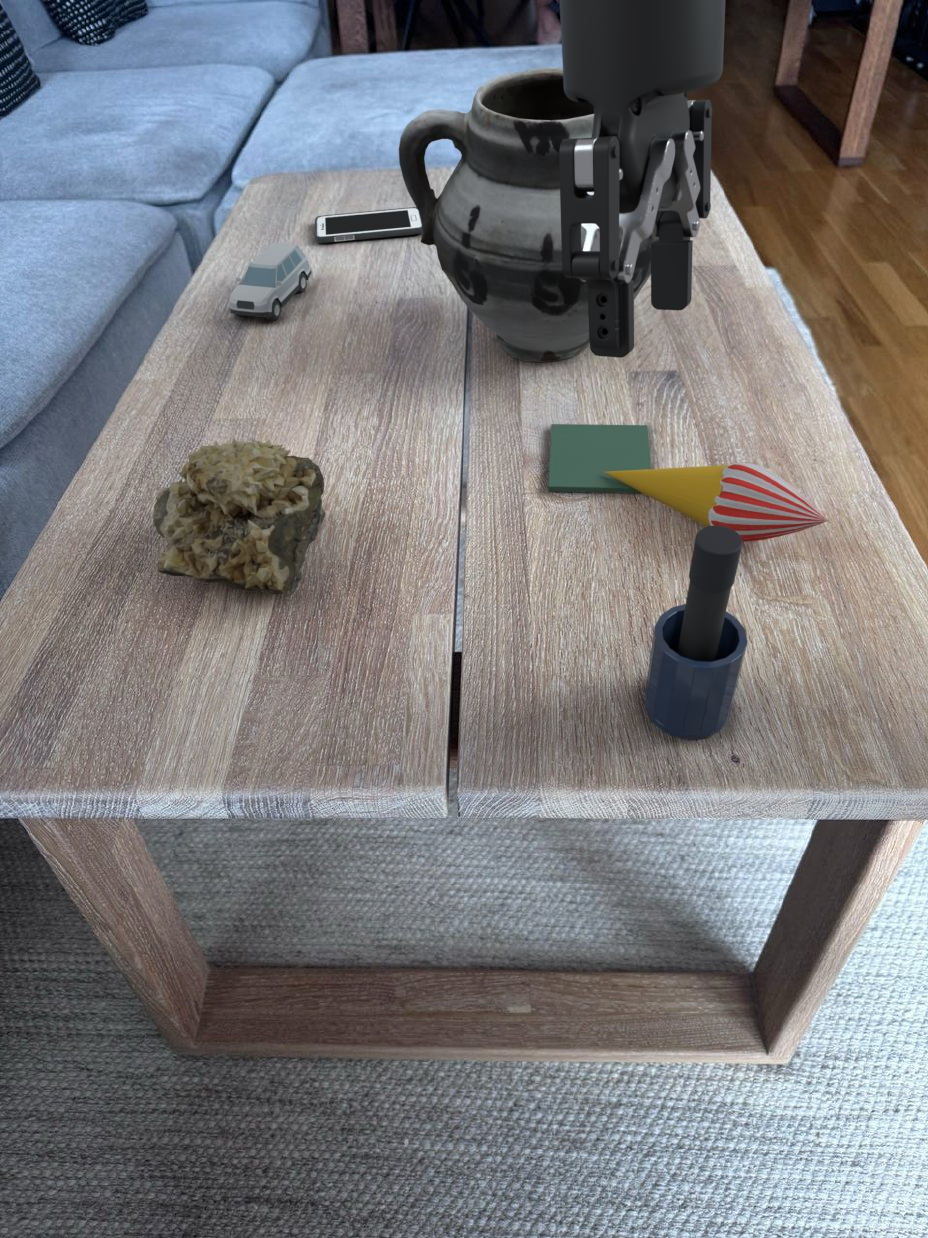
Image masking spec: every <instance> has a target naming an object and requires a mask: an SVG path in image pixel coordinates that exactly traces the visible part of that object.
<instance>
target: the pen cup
mask: <svg viewBox="0 0 928 1238" xmlns="http://www.w3.org/2000/svg"><path fill="white" fill-rule="evenodd" d="M685 605H686V603H684V604H680V605H676V606H672V607H671V608H669V609H667V610H666V611H665V612H663V613H662V614H661V615H659V617H658V618H657V621H656V623H655V625H654V628H653V635H652V641H651V649H650V656H649V663H648V670H647V677H646V683H645V684H646V685H645V691H644V696H645V697H644V709H645V712H646V715H647V717H648V718H649V720H650V722H652V723H653V724H654V726H656V728H658V729H659V730H661V732H663V733H665V734H667V735H670V736H672V737H676V738H679V739H684V740H700V739H705V738H709V737H711V736H714V735H715V734H717V733H718V732H720V731H721V730H722V729H724V727H725V725H727V722H728V720H729V717H730V713H731V710H732V707H733V705H734V700H735V695H736V691H737V687H738V684H739V679H740V674H741V671H742V667H743V663H744V659H745V655H746V652H747V647H748V643H749V642H748V636H747V631H746V628H745V627H744V626H743V624H742V623H741V622H740V620H738V618H737V617H736V616H734V615H733V614H732V613H730V612H728V611H727V610H726V614H725V618H724V623H723V628H722V632H721V637H720V642H719V646H718V651H717V655H716V660H715V661H713V662H706V661H694V660H691V659H688V658H685V657H682V656H680V655H679V654H677V652H678V646H679V640H680V634H681V629H682V623H683V617H684V611H685Z"/></svg>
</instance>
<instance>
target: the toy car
mask: <svg viewBox="0 0 928 1238" xmlns="http://www.w3.org/2000/svg"><path fill="white" fill-rule="evenodd" d="M312 273H313V272H312V267H311V265H310V263H309V260H308V257H307V255H306V254H305V253H304V252H303V250H302V249H301V248H300V247H299V245H298V244H295V243H286V242H272V243H270V244H269V245H268V246H267V247H266V248H265V249H263V250H262V251H261V253H259V254H258V255H257V256H256V257H255V258H254V259H253V260H251V262H249V265H248V267H247V269H246V272H245V274H244V276H243V279H242V280H241V277H235V280H236V282H239V283H240V284H238V285H237V286H236V287H234V288H233V290H232V291H231V293H230V294H229V312H230V313H229V314H232V315H235V316H236V317H241V318H245V317H249V316H250V317H257V318H258V317H259V318H266V319H267V320H270V321H277V320H279V319H280V318H281V317H280V316H281V315H282V308H284V306H285V305H286V304H287V303H288V302H289V301H290V300H291V299H292V298H293V297H294V296H295V295H296V294H297V293H303V292H305V291H306V289H307V286H308V281H309V279H310V277H311V274H312Z"/></svg>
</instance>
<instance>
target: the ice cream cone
mask: <svg viewBox="0 0 928 1238" xmlns="http://www.w3.org/2000/svg"><path fill="white" fill-rule="evenodd" d="M604 473H606V474H608V475H609V476H611V477H613V478H615V479H617V480H619V481H621V482H623V483H625V484H626V485H628V486H630V487H632V488H634V489H636V490H638V491H640V492H642V493H641V494H644V495H646V496H647V497H649V498H651V499H653V500H655V501H656V502H659V503H660V504H662V505H664V506H666V507H669V508H670V509H672V510H674V511H676V512H678V513H679V514H681V515H683V516H685V517H687V518H689V519H691V520H692V521H694V522H696V523H698V524H700V525H702V526H704V527H708V526H724V527H728V528H730V529H733V530H734V531H736V532H737V533H738V534H739V535H740V536H741V538H742V542H743V543H749V542H751V543H752V542H758V541H765V540H770V539H774V538H779V537H783V536H787V535H791V534H795V533H798V532H802V531H805V530H808V529H810V528H814V527H816V526H818V525H822V524H824V523H827V522H829V519H827V518H826V517H825V515H824V514H823V513H822V512H821V511H819V509H818V508H817V507H816V506H815V505H814V504H813V503H812V501H810V499H808V498H807V497H806V496H804V495H803V494H802V493H801V492H800V491H799V490H798V489H796V488H795V487H794V486H792V485H791V484H790V483H788V482H787V481H786V480H784V479H783V478H781V477H780V476H779V475H777V474H776V473H774V472H773V471H771V470H769V469H768V468H766V467H763V466H761V465H758V464H756V463H750V462H734V463H730V464H724V465H723V464H720V465H719V464H718V465H703V466H686V467H685V466H684V467H683V466H682V467H668V468H667V467H666V468H651V469H646V470H628V471H610V472H604Z"/></svg>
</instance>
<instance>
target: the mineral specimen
mask: <svg viewBox="0 0 928 1238" xmlns="http://www.w3.org/2000/svg"><path fill="white" fill-rule="evenodd" d="M286 448H287V447H286V446H284V447H283V444H272V439H271V438H269V439H268V440H266V442H263V441H262V440H258V441H257V440H255V439H254V438H251V441H244V440H236V439H235V438H233V440H232V443H231V442H227V443H222V444H221V445H220V444H219V442H218V441H217V440H215V442H214V444H212V445H211V444H209V445H200V447H199V449H198V450H195V451H192V452H189V453H188V454H187V458H188V461H187V462H186V463H185V464H184V465H183V467H182V470H181V471H180V472H178V474H179V475H180V477H181V478H183V479H184V481H182V479H179V480H178V481H174V482H172V483H171V485H170V486H169V487H164V488H162V490H161V491H159V492H158V493H157V494H156V496H155V499H156V502H155V504H154V506H153V512H152V517H153V518H152V521H153V524H154V527H155V530H156V532H157V533H158V534H159V535H160V536H161V537H162V538H163V540H165V541H166V542H167V544H168V549H167V550H166V551H163V554H162V555H161V557H160V558H158V559H156V561H157V564H156V566H157V567H156V568H157V571H158V573H160V574H164V575H169V576H171V577H184V576H185V577H189V578H195V579H196V578H197V579H199V580H202V581H205V582H208V583H225V584H228V585H230V586H231V587H232V588H234V589H235V590H237V591H242V592H243V591H244V592H247V593H251V592H252V593H253V592H262V593H264V594H269V595H273V596H275V595H280V596H281V595H282V596H285V597H286V596H287V595H292V594H293V593H295V591H296V589H297V588H298V586H299V583H300V581H301V580H302V579H303V574H302V571H301V569H302V567H303V565H304V564H305V561H306V553H307V550H308V549H309V546H310V545H311V543H313V542H314V541H315V540H316V539H317V538H318V535H319V532H320V530H321V527H322V525H323V523H324V521H325V517H326V514H327V513H326V512H325V511H326V510H324V508H323V498H322V496H323V494H324V492H325V482H324V481H325V478H324V475H323V473H322V471H321V469H320V467H319V465H318V464H316V463H315V462H313V460H312V458H310V457H300V456H296V455H289V454H290V453H291V450H286Z"/></svg>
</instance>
